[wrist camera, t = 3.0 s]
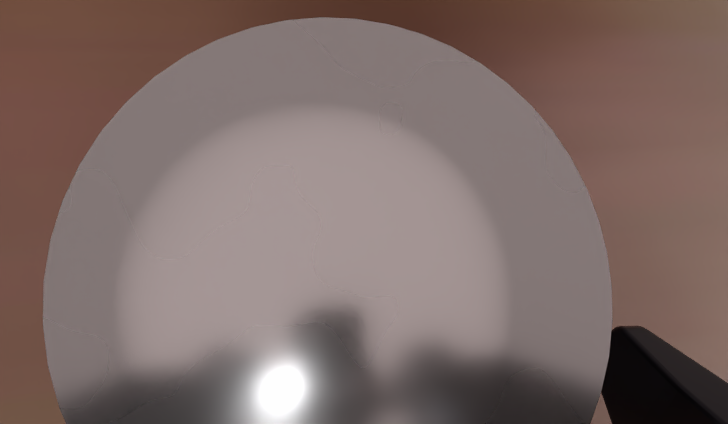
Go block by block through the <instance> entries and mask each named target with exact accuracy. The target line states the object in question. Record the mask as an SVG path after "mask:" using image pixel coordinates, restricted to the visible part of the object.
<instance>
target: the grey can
mask: <svg viewBox="0 0 728 424" xmlns="http://www.w3.org/2000/svg"><path fill="white" fill-rule="evenodd" d="M43 329H44V337H45V345H46V353H47V361H48V368H49V371H50V375H51V379H52V382H53V386H54V390H55V393H56V397H57V401H58V404H59V408H60V410H61V413H62V415H63V417H64V419H65V422H66V424H590V422H591V420H592V417H593V414H594V411H595V408H596V405H597V402H598V399H599V397H600V394H601V391H602V386H603V382H604V377H605V372H606V368H607V363H608V359H609V352H610V341H611V331H612V285H611V278H610V270H609V263H608V256H607V250H606V246H605V242H604V239H603V235H602V231H601V227H600V223H599V219H598V217H597V214H596V211H595V209H594V206H593V203H592V201H591V198H590V196H589V193H588V190H587V188H586V186H585V184H584V182H583V180H582V178H581V176H580V174H579V172H578V170H577V168H576V167H575V165H574V163H573V161H572V159H571V157H570V156H569V154H568V153H567V151H566V150H565V148H564V147H563V145H562V144H561V142H560V141H559V139H558V138H557V136H556V135H555V133H554V132H553V130H552V129H551V128H550V127H549V126H548V125H547V123H546V122H545V121H544V120H543V119H542V118H541V116H540V115H539V114H538V113H537V112H536V110H535V109H534V108H533V107H532V106H531V105H530V104H529V103H528V102H527V101H526V100H525V99H524V98H523V97H522V96H521V95H519V94H518V93H517V92H516V91H515V90H514V89H513V88H512V87H511V86H510V85H509V84H508V83H507V82H505V81H504V80H502V79H501V78H500V77H498V76H497V75H496V74H494V73H493V72H492V71H490V70H489V69H488V68H486V67H485V66H484V65H482V64H481V63H479V62H477V61H476V60H474V59H472V58H470V57H469V56H467V55H465V54H464V53H462V52H460V51H458V50H457V49H455V48H453V47H451V46H449V45H446V44H444V43H442V42H439V41H437V40H435V39H432V38H430V37H428V36H425V35H423V34H421V33H417V32H414V31H410V30H407V29H403V28H400V27H397V26H393V25H390V24H384V23H378V22H372V21H366V20H360V19H350V18H325V17H319V18H307V19H295V20H285V21H280V22H276V23H271V24H266V25H262V26H257V27H252V28H249V29H246V30H244V31H241V32H238V33H235V34H232V35H229V36H226V37H224V38H221V39H218V40H216V41H214V42H212V43H210V44H208V45H206V46H204V47H202V48H200V49H198V50H196V51H194V52H192V53H190V54H188V55H186V56H184V57H183V58H181V59H180V60H179V61H177V62H176V63H174V64H173V65H171V66H170V67H168V68H167V69H165V70H164V71H162V72H161V73H159V74H158V75H156V76H155V77H154V78H153V79H152V80H150V81H149V82H148V83H147V84H146V85H145V86H144V87H143V88H141V89H140V90H139V91H138V92H137V93H136V94H135V95H134V96H132V97H131V98H130V99H129V100H128V101H127V102H126V103H125V104H124V105H123V106H122V108H121V109H120V110H119V111H118V112H117V113H116V115H115V116H114V117H113V118H112V119H111V120H110V122H109V123H108V124H107V125H106V126H105V127H104V129H103V130H102V131H101V132H100V134H99V135H98V137H97V138H96V140H95V142H94V143H93V145H92V146H91V148H90V149H89V151H88V152H87V154H86V156H85V157H84V159H83V160H82V162H81V163H80V165H79V167H78V169H77V171H76V173H75V176H74V178H73V180H72V182H71V184H70V186H69V188H68V190H67V193H66V195H65V197H64V199H63V201H62V204H61V208H60V211H59V214H58V217H57V221H56V224H55V227H54V230H53V234H52V237H51V240H50V246H49V252H48V258H47V264H46V271H45V277H44V293H43Z"/></svg>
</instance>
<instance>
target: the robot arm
mask: <svg viewBox="0 0 728 424" xmlns="http://www.w3.org/2000/svg"><path fill="white" fill-rule="evenodd" d="M601 393H602V396H603V398H604V401H605V404H606V407H607V410H608V413H609V416H610V419H611V422H612V424H728V383H727V382H725V381H724V380H722V379H721V378H719V377H718V376H716V375H715V374H713V373H712V372H710V371H709V370H707V369H706V368H704V367H703V366H701V365H700V364H698V363H697V362H695V361H694V360H692V359H691V358H689V357H688V356H686V355H685V354H683V353H682V352H680V351H679V350H677V349H676V348H674V347H673V346H671V345H670V344H668V343H667V342H665V341H664V340H662V339H661V338H659V337H658V336H656V335H655V334H653V333H652V332H650V331H649V330H647V329H645V328H644V327H641V326H619V327H616V328H614V329H613V330H612V331H611V341H610V352H609V359H608V363H607V368H606V372H605V377H604V382H603V386H602V391H601Z"/></svg>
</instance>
